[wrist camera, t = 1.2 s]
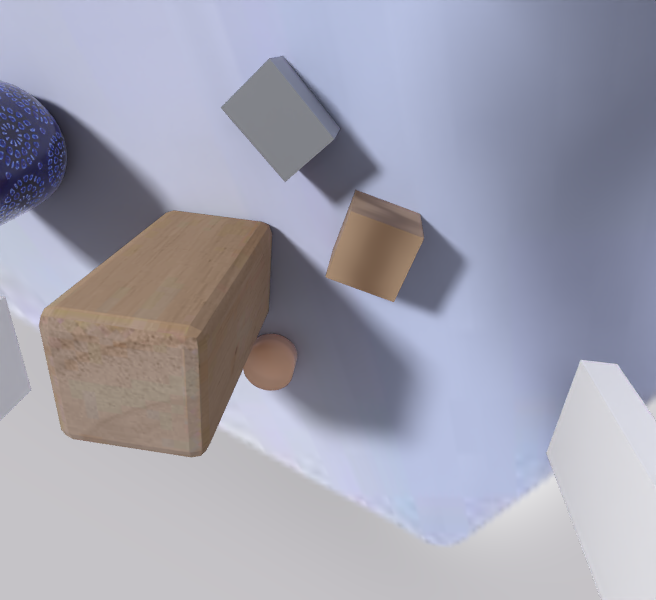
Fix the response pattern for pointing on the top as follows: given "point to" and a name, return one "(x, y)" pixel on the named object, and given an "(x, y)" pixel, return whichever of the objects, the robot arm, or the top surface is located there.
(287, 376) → the terracotta puck
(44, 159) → the planter
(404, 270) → the walnut cube
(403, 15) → the top surface
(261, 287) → the wooden block
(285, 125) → the gray block
